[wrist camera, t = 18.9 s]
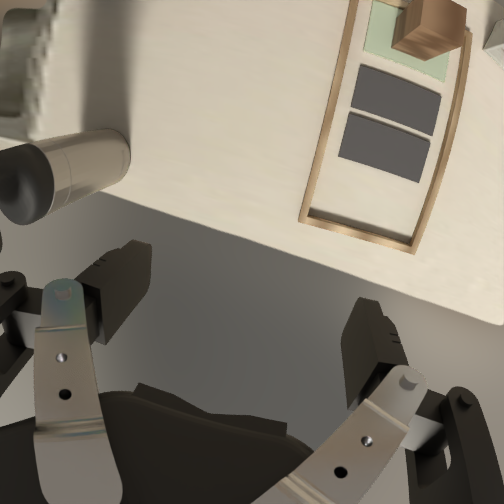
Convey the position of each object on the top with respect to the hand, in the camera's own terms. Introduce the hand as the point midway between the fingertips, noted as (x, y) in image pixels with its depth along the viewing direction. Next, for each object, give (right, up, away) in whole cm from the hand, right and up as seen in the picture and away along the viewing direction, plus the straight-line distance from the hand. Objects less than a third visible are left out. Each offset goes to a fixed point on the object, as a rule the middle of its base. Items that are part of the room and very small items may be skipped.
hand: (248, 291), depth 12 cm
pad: (+21, +30, +19) cm, 41 cm away
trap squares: (+19, +19, +24) cm, 36 cm away
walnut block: (+21, +30, +19) cm, 41 cm away
